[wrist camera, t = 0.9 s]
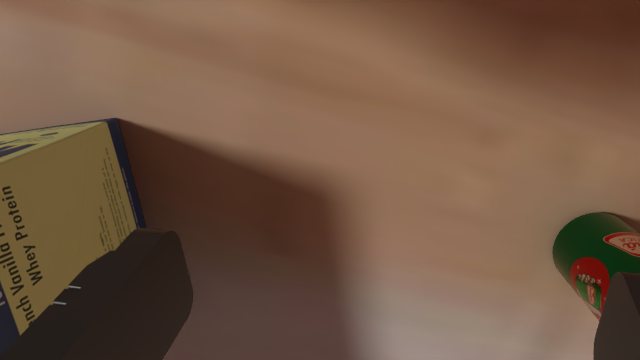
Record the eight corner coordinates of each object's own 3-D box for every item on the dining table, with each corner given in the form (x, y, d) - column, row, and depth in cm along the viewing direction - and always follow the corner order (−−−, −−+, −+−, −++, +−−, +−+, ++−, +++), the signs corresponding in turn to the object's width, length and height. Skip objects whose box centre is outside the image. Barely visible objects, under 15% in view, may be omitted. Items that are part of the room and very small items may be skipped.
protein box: (117, 112, 33) (-75, 186, 18) (174, 321, 38) (56, 517, 23) (-30, 134, 34) (-324, 221, 19) (41, 335, 39) (-153, 530, 24)
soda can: (646, 232, 33) (799, 344, 22) (596, 292, 35) (715, 426, 23) (581, 195, 33) (702, 289, 21) (533, 257, 34) (622, 377, 23)
